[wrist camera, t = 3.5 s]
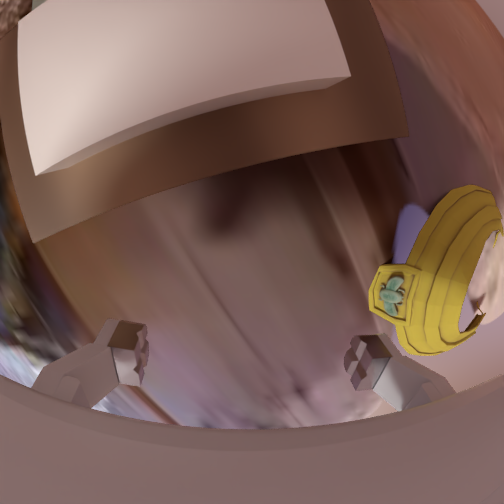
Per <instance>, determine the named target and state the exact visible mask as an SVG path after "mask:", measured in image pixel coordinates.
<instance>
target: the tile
mask: <svg viewBox="0 0 504 504" xmlns="http://www.w3.org/2000/svg"><path fill="white" fill-rule="evenodd" d="M18 76H19V89H20V99H21V107H22V114H23V120H24V126H25V132H26V137H27V142H28V147H29V152H30V156H31V160H32V164H33V168H34V172H35V176H37V175H41V174H44V173H48V172H52V171H57V170H61V169H65V168H69V167H71V166H73V165H75V164H76V163H78V162H80V161H82V160H84V159H86V158H88V157H91V156H93V155H95V154H97V153H99V152H101V151H103V150H105V149H108V148H110V147H112V146H114V145H117V144H119V143H121V142H124V141H126V140H129V139H131V138H133V137H136V136H138V135H141V134H144V133H146V132H149V131H152V130H154V129H157V128H160V127H163V126H165V125H168V124H171V123H174V122H177V121H180V120H183V119H186V118H190V117H193V116H196V115H199V114H203V113H206V112H210V111H213V110H217V109H221V108H225V107H229V106H233V105H237V104H241V103H245V102H250V101H254V100H259V99H264V98H269V97H274V96H280V95H286V94H292V93H298V92H305V91H312V90H320V89H326V88H328V87H330V86H332V85H334V84H336V83H338V82H340V81H342V80H344V79H347V78H349V77H351V74H350V71H349V67H348V64H347V61H346V57H345V54H344V51H343V48H342V45H341V42H340V39H339V37H338V34H337V31H336V28H335V25H334V23H333V20H332V18H331V15H330V13H329V10H328V8H327V5H326V3H325V0H47V1H45V2H44V3H42V4H41V5H40V6H38V7H37V8H35V9H34V10H33V11H31V12H30V13H29V14H27V15H26V16H25V17H23V18H22V19H21V20H20V21H18Z"/></svg>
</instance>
